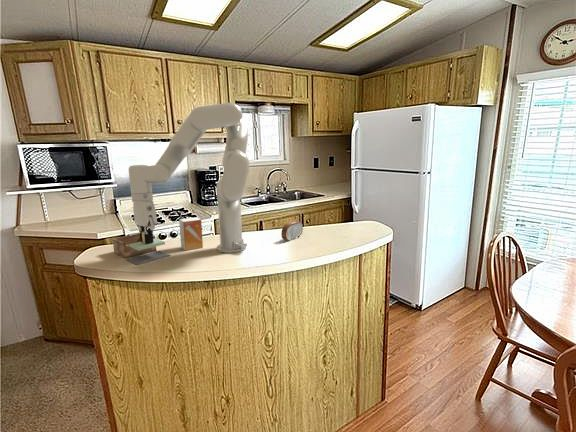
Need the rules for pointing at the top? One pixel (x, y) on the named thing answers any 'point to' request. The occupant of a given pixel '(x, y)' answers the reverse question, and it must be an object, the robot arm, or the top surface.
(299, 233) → the bread slice
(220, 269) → the top surface
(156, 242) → the lid
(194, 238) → the small box
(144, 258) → the mat
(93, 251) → the top surface
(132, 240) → the box
